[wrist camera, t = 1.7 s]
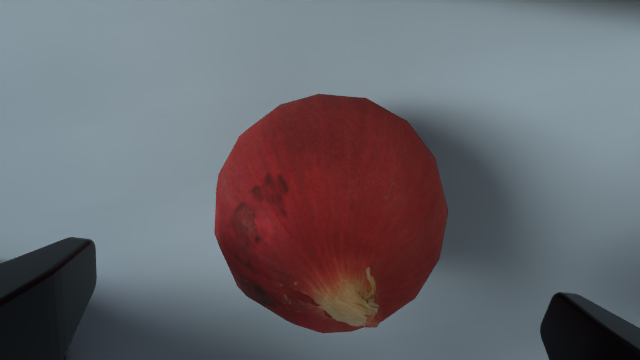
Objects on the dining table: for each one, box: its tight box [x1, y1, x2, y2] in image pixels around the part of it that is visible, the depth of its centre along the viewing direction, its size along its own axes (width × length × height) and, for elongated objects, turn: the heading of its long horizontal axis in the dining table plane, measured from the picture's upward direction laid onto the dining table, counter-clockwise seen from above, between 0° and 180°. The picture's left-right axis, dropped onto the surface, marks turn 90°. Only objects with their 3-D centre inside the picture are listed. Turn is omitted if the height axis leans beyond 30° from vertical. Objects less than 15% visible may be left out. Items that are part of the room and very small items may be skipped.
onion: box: [215, 94, 448, 333], centre depth 12 cm, size 6×6×8 cm
